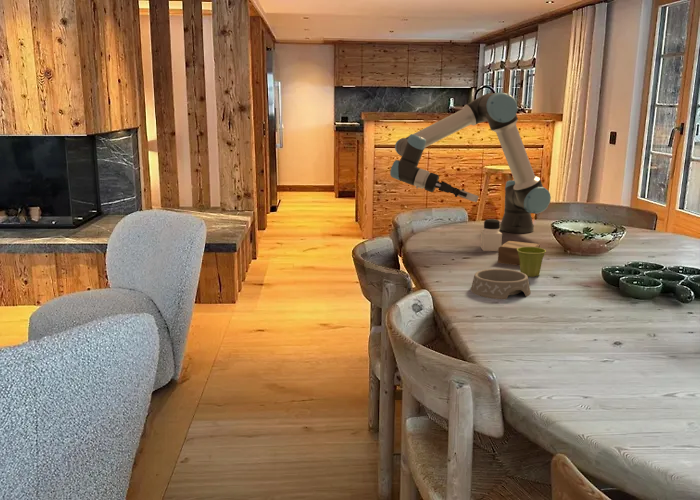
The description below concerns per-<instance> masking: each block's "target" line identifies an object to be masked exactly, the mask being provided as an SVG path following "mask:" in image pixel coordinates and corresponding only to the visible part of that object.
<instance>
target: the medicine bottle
mask: <svg viewBox="0 0 700 500" xmlns="http://www.w3.org/2000/svg"><path fill="white" fill-rule="evenodd" d="M500 223H501V221H500V220H498V219H496V218H489V219H485V220H484V221H483V229H482V230H480V245H479V246H480V248H481V250H482V251H483V252H498V248H499V247H500V246H502V245H503V233H502V232H501V230H500Z"/></svg>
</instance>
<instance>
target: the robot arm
mask: <svg viewBox="0 0 700 500" xmlns="http://www.w3.org/2000/svg"><path fill="white" fill-rule="evenodd" d="M517 112H518V104H517V101H516V99H515V97H513V96H512V95H511V94H509V93H506V92H502V91H501V92H494V93H493V92H488V93H485V94H483V95H480V96H479V97H477V98H476V99H474V100H472V101H470V102H467V104H464V106H463V108H461V109H459V110H458V111H456V112H455V113H452V114H451V115H448V116H446V117H444V118H443V119H440V120H438V121H436V122H434V123H432V124H430V125H428V126H426V127H424V128H423V129H421V130H419V131H417V132H414V133H413V134H409V135H408V136H406V137H403V138H400V139H398V140H397V141H396V142H395V144H394V149H395V152H396V153H397V154H398V155H399V156H401V157H400V159H399V160H398V159H395V160H394V161H393V163H392V165H391V168H390V172H389V173H390V174H389V175H390V177H391V178H393V179H395V180H397V181H400V182H402V183H405V184H408V185H410V186H413V187H414V186H415V188H416V189H422V190H423V189H424V190H425V191H428V192H429V193H434V191H436V189H437V190H438V191H439V192H444V193H449V194H452V195H454V197H455V198H458V197H459V198H462V199H465V200H468V201H471V202H474V203H477V202H478V200H479V197H480V196H479V195H477V194H475V193H472V192H469V191H466V190H465V189H464V188H462V189H460V188H457V187H453V186H452V185H451V184H449V183H447V182H446V181H444V180H441V182H440V181H439V180H440V175H439V174H437V173H434V172H430V171H428V170H427V169H423V168H421V167H418V165H419V163H420V160H421V158H422V155H423V153H424V150H425V148H427V147H429V146H431V145H433V144H435V143H438V142H439V141H441V140H443V139H445V138H447V137H449V136H451V135H453V134H455V133H458V131H460V130H463V129H464V128H466V127H468V126H476V125H478V124H481V123H485V122H487V123H488V126H489V128H490V131H492V132H494V133H496V136H497V138H498V139H497V140H498V141H499V144H500V147H501V149H502V152H503V155H504V157H505V160H506V163H507V165H508V168H509V170H510V172H511V176H512V179H513V180H507V181H506V182H505V188H504V211H503V212H504V213H503V216H502V219H501V221H500V229H499V231H500V232H501V231H502V232H504V233H513V234H527V233H528V234H529V233H532V232H534V230H535V225H534V223H533V217H532V214H541V213H543V212H545V210H547V209H548V207H549V205H550V203H551V201H552V200H551V198H552V197H551V193H550V191H549V190H548V189H547V188H546V187H545V186H543V183H542V180H541V178H540V176H537V175H535V173H534V169H533V167H532V165H531V162H530V159H529V157H528V153H527V150H526V148H525V146H524V143H523V141H522V138H521V134H520V132H519V129H518V127H517V122H518V118H519V117H518V116H517Z"/></svg>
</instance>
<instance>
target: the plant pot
mask: <svg viewBox="0 0 700 500" xmlns="http://www.w3.org/2000/svg"><path fill="white" fill-rule="evenodd" d="M517 251H518V255H519V261H520V265H519V270H520V271H519V272H522V273H524V274H526V275H527V276H528V278H529V277H531V278H534V277H537V276H538V277H539V276H540V273H541V268H542V264H543V258H544V256H545V253H547V250H546V249H544V248H541V247H540V248H538V247H520V248H518V249H517Z"/></svg>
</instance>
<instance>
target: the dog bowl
mask: <svg viewBox="0 0 700 500" xmlns="http://www.w3.org/2000/svg"><path fill="white" fill-rule="evenodd" d="M470 291H471V293H473V294H474V295H476V296H479V297H482V298H487V299H494V300H507V299H508V298H509V296H513V295H518V294H520V293H522V292H523V293H524V296H525V297H528V296H530V295H531V294H532V293H531V291H532V290H531V287H530V282H529V277H528V276H527V275H526V274H524V273H522V272H520V271H518V270H512V269H506V268H490V269H489V268H488V269H483V270H479V271H477V272H475V273H474V276H473V279H472V285H471V287H470Z"/></svg>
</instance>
